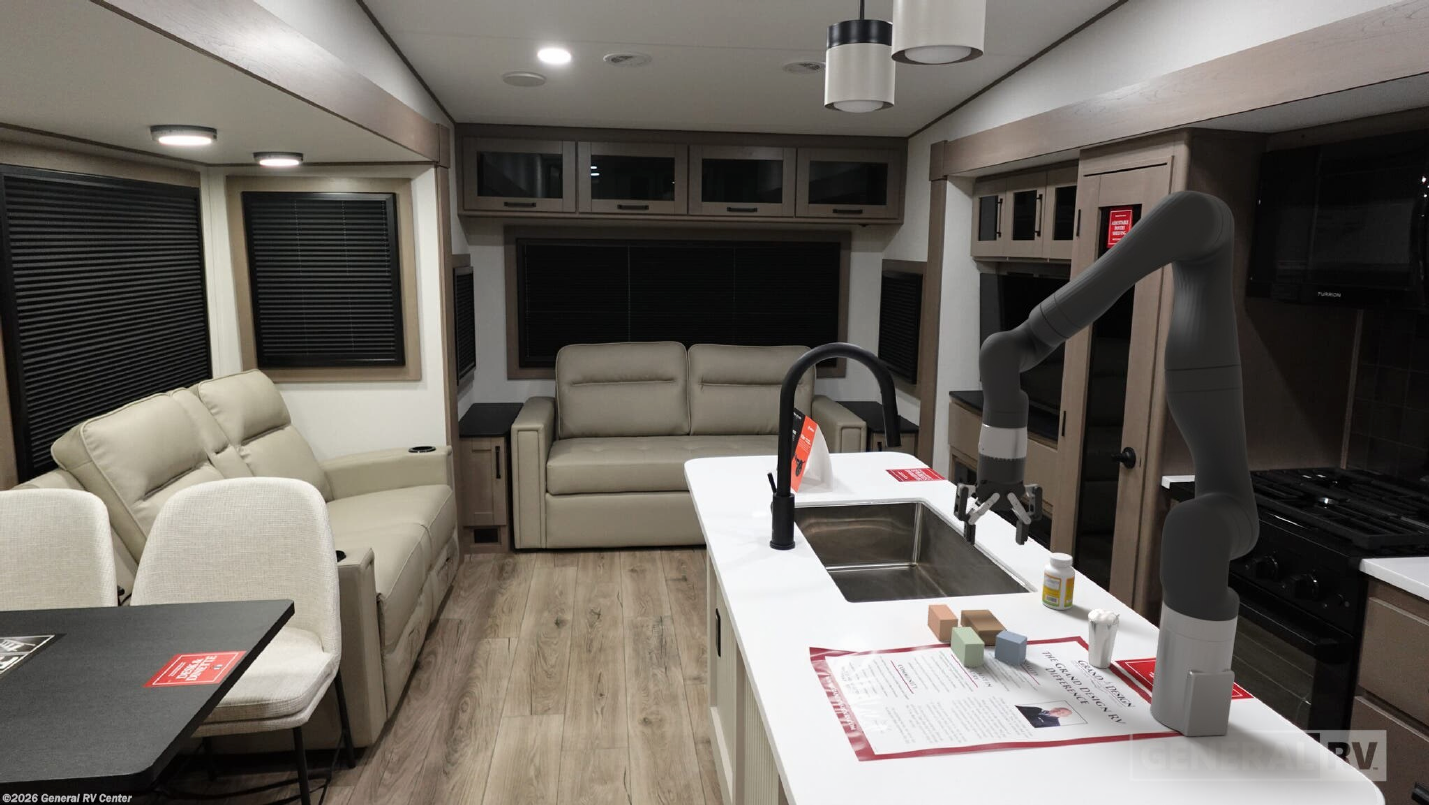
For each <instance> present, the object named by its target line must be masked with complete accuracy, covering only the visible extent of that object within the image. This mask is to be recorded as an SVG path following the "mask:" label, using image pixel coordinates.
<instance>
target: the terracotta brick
mask: <svg viewBox="0 0 1429 805" xmlns="http://www.w3.org/2000/svg"><path fill="white" fill-rule="evenodd" d="M927 613H928V614H927V625H926V626H927V627H928V628H929V629H930V630H931V632H932V634H933V635H934V637H936V639H937V640H938V641H939V642H940V641H941V642H942V641H943V642H944V641H945V642H946V641H951V637H952V627H959V618H958V617H957V615H955V613H954V612H953V611H952V610H951V608H950V607H949V606H948V605H947V604H929V605H928V612H927Z"/></svg>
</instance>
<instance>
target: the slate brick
mask: <svg viewBox="0 0 1429 805" xmlns="http://www.w3.org/2000/svg"><path fill="white" fill-rule="evenodd" d="M1027 645H1028V636H1025V635H1022V634H1019V633H1015V632H1014V631H1013V632H1012V631H1009V630H1007V631H1006V630H1003V631H1002V632H1000V633H999V634H998V635H997V636H996V643H995V645H994V657H993V658H994V659H995V660H998V661H1001V662H1005V663H1007V664H1010V665H1013V666H1016V667H1019V666H1020V665H1021V664H1023V662H1024V661H1025V660H1027V659H1026V658H1027V647H1028V646H1027Z"/></svg>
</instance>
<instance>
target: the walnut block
mask: <svg viewBox="0 0 1429 805" xmlns="http://www.w3.org/2000/svg"><path fill="white" fill-rule="evenodd" d="M959 625H960V627H971V628H972V629H973V630H974V632H975V633H976V634H977V635H978V636H979V637H980V639H981V640H982V641H983V642H984V643H985V646H988V645H989V646H991V645H994V646H995V643H996V636H997V635H998V634H999V633H1000V632H1002V631H1003V630H1006V631H1008V629H1007V628H1006V627H1005V626H1004V625H1003V624H1002V623H1001V621H999V619H998V618H997V617H996V616H995V614H993V613H992V612H991V611H990V610H989V609H964V610H963V609H961V610H960V624H959Z"/></svg>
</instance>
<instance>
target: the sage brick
mask: <svg viewBox="0 0 1429 805" xmlns="http://www.w3.org/2000/svg"><path fill="white" fill-rule="evenodd" d="M985 646H986V645H985V643H984V642H983V641H982V640H981V639H980V637H979V636H978V635H977V634H976V633H975V632H974V630H973V629H972V628H971V627H962V626H960V627H959V626H958V627H952V637H951V640H950V650H951V652H952V653H953V654H954V656H955V657H956V658H957V660H959V663H961V665H962V666H963V667H983V666H984V658H985V657H984V656H985Z"/></svg>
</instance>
